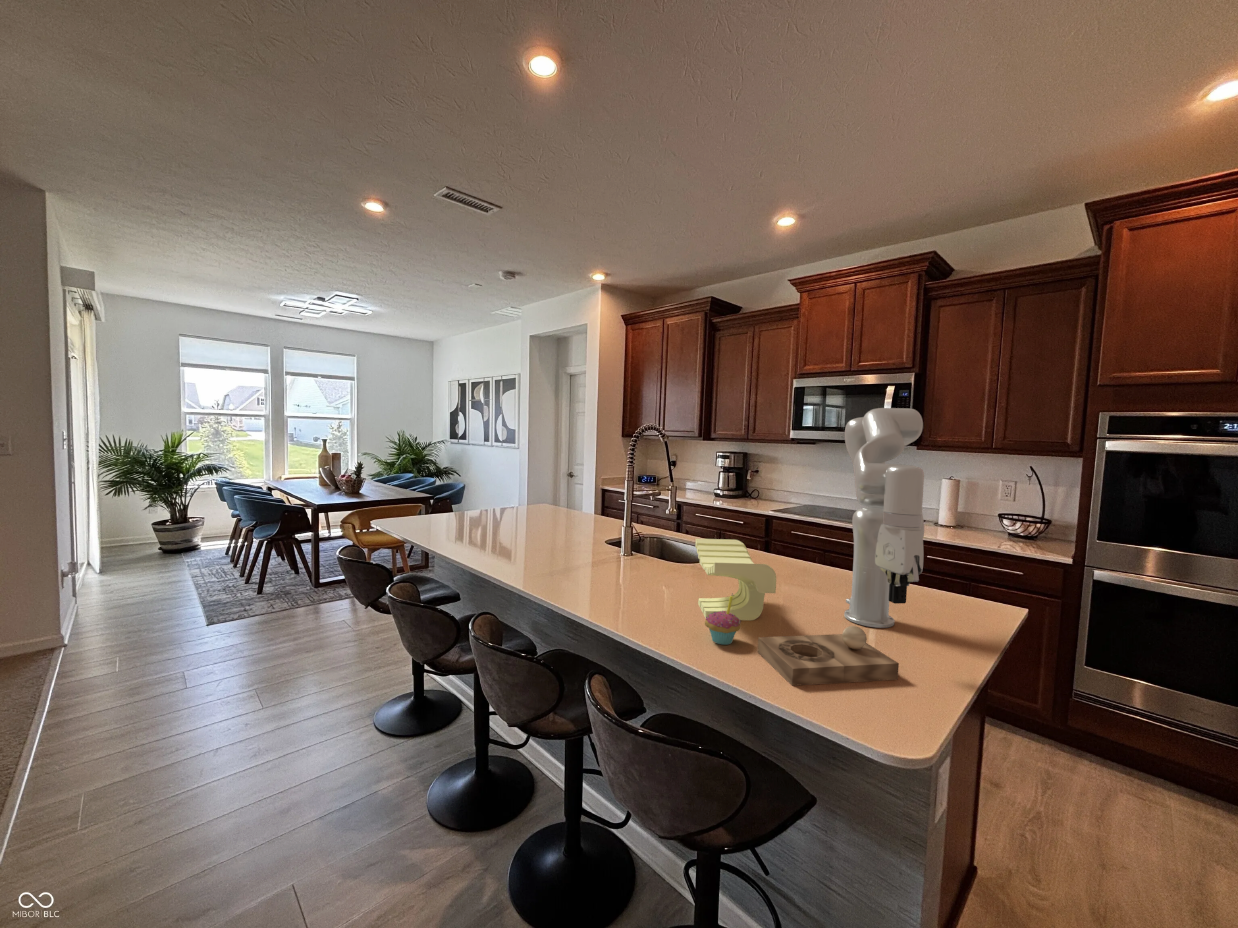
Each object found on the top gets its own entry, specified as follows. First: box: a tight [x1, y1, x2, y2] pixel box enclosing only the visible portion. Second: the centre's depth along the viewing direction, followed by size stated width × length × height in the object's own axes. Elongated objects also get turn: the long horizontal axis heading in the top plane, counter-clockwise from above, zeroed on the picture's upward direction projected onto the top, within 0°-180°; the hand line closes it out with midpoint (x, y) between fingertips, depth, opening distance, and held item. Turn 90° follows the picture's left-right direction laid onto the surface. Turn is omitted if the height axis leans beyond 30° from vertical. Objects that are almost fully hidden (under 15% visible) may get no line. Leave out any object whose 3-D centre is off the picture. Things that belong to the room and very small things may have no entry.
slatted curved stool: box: [695, 538, 777, 621], centre depth 146 cm, size 30×16×18 cm, turn 1°
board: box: [757, 633, 900, 686], centre depth 114 cm, size 24×16×4 cm, turn 100°
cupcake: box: [704, 592, 742, 646], centre depth 125 cm, size 9×8×12 cm
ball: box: [841, 625, 868, 649], centre depth 115 cm, size 5×5×5 cm
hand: (897, 602), depth 115 cm, fingers closed
